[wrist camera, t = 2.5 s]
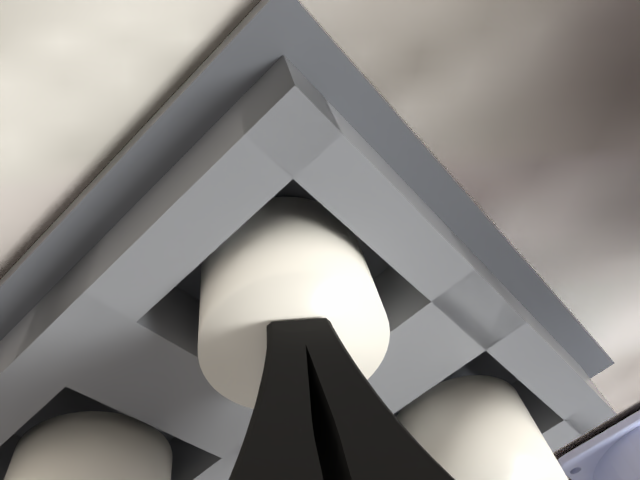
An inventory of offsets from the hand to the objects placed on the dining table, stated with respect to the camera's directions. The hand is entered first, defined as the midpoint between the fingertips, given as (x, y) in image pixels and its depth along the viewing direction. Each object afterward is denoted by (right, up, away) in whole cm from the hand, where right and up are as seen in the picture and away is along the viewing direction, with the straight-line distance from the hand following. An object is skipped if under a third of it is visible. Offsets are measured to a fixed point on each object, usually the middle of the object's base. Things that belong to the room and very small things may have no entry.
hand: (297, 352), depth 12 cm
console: (-1, -2, +7) cm, 7 cm away
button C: (-1, +2, +3) cm, 3 cm away
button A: (+5, -3, +5) cm, 8 cm away
